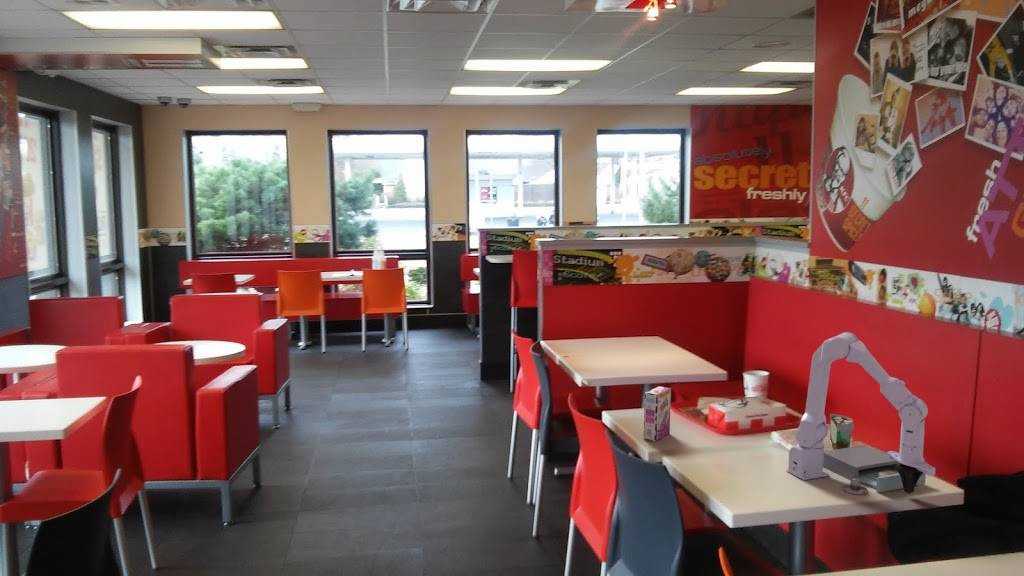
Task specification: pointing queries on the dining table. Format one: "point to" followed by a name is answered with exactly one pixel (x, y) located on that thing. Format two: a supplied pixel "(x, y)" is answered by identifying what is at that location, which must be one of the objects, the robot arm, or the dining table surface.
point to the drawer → (884, 479)
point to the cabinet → (856, 460)
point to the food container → (840, 431)
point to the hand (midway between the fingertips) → (908, 491)
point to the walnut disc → (886, 473)
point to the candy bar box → (657, 413)
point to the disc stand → (855, 487)
